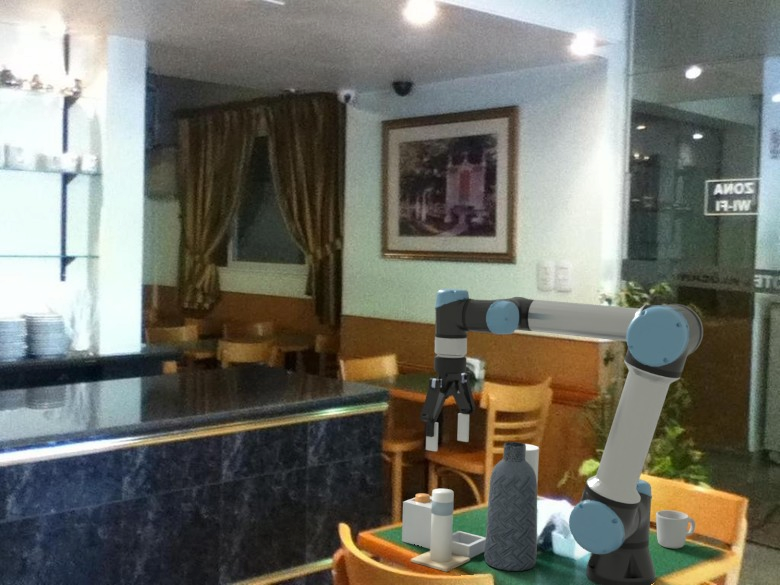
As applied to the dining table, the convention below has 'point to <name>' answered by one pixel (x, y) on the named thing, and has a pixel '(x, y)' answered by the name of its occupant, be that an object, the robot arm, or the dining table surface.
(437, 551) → the cylinder
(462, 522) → the dining table surface
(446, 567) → the coaster
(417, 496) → the brown egg
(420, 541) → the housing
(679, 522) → the cup
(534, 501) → the vase
